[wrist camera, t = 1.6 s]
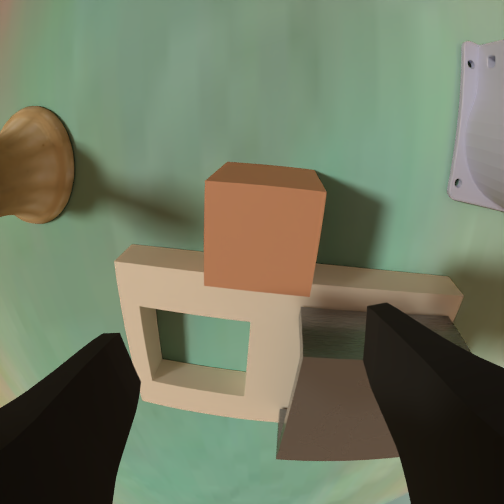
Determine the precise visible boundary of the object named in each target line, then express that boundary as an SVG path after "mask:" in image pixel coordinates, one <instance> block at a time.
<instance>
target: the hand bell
mask: <svg viewBox="0 0 504 504" xmlns="http://www.w3.org/2000/svg"><path fill="white" fill-rule="evenodd" d="M73 180H74V157H73V151H72V146H71V143H70V140H69V136H68V134H67V131H66V129H65V128H64V126H63V124H62V122H61V121H60V120H59V119H58V118H57V117H56V116H55V114H53V113H52V112H51V111H49V110H48V109H45V108H43V107H39V106H29V107H25V108H23V109H21V110H19V111H18V112H17V113H15V114H14V115H13V116H12V117H11V118H10V119H9V120H8V121H7V122H6V124H5V125H4V127H3V129H2V130H1V132H0V217H2V216H6V215H15V216H17V217H18V218H19V219H21V220H23V221H26V222H29V223H35V224H42V223H46V222H49V221H51V220H53V219H54V218H56V217H57V216H58V215H59V214H60V213H61V212H62V210H63V209H64V207H65V206H66V204H67V202H68V200H69V197H70V194H71V190H72V185H73Z"/></svg>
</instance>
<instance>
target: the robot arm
mask: <svg viewBox="0 0 504 504" xmlns="http://www.w3.org/2000/svg"><path fill="white" fill-rule="evenodd" d="M468 61H469V62H470V64H471V68H469V66H468ZM456 179H458V180H459V183H458V185H457V186H455V181H456ZM447 194H448V196H449V197H450V198H451V199H453V200H457V201H461V202H466V203H470V204H474V205H479V206H483V207H487V208H491V209H495V210H499V211H503V212H504V40H499V41H495V42H491V43H486V44H482V45H478V44H475V43H473V42H471V41H466V42H463V43H462V46H461V84H460V100H459V111H458V121H457V130H456V138H455V145H454V152H453V159H452V165H451V171H450V176H449V181H448V187H447ZM363 363H364V366H365V370H366V373H367V377H368V380H369V383H370V386H371V389H372V392H373V394H374V397H375V399H376V401H377V403H378V406H379V408H380V410H381V413H382V415H383V417H384V420H385V422H386V424H387V427H388V429H389V431H390V434H391V436H392V438H393V441H394V443H395V445H396V448H397V451H398V454H399V457H400V460H401V463H402V467H403V471H404V475H405V479H406V483H407V487H408V492H409V496H410V501H411V504H504V368H502V367H500V366H498V365H496V364H493V363H491V362H489V361H487V360H484V359H482V358H480V357H478V356H476V355H474V354H472V353H470V352H468V351H467V350H465V349H463V348H461V347H459V346H457V345H456V344H454V343H452V342H450V341H449V340H447V339H445V338H444V337H442V336H440V335H439V334H437V333H435V332H434V331H432V330H430V329H429V328H427V327H426V326H424V325H423V324H421V323H419V322H418V321H416V320H415V319H413V318H412V317H410V316H408V315H407V314H405V313H404V312H402V311H401V310H399V309H397V308H396V307H394V306H392V305H391V304H389V303H387V302H386V303H381V304H375V305H369V306H367V315H366V330H365V342H364V353H363ZM140 387H141V380H140V378H139V376H138V374H137V372H136V370H135V367H134V365H133V363H132V361H131V358H130V356H129V354H128V352H127V349H126V347H125V345H124V342H123V340H122V337H121V335H120V333H103V334H101V335H100V336H98V337H97V338H95V339H94V340H92V341H91V342H90V343H88V344H87V345H86V346H84V347H83V348H82V349H81V350H79V351H78V352H77V353H76V354H74V355H73V356H72V357H71V358H69V359H68V360H67V361H66V362H64V363H63V364H62V365H61V366H59V367H58V368H57V369H56V370H54V371H53V372H52V373H50V374H49V375H48V376H46V377H45V378H44V379H42V380H41V381H40V382H38V383H37V384H36V385H34V386H33V387H32V388H30V389H29V390H28V391H26V392H25V393H23V394H22V395H20V396H19V397H17V398H16V399H14V400H13V401H11V402H9V403H8V404H6V405H5V406H3V407H1V408H0V504H112V502H113V495H114V488H115V481H116V476H117V472H118V468H119V464H120V461H121V457H122V454H123V451H124V448H125V445H126V441H127V438H128V435H129V432H130V429H131V426H132V422H133V419H134V416H135V413H136V409H137V404H138V399H139V393H140Z"/></svg>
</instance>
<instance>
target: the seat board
mask: <svg viewBox="0 0 504 504" xmlns="http://www.w3.org/2000/svg"><path fill="white" fill-rule="evenodd" d="M114 263H115V270H116V277H117V284H118V290H119V296H120V302H121V308H122V314H123V319H124V324H125V329H126V334H127V339H128V344H129V349H130V353H131V357H132V362H133V365H134V367H135V370H136V372H137V374H138V376H139V378H140V380H141V387H140V393H141V397H142V401H146V402H151V403H155V404H159V405H164V406H169V407H173V408H178V409H183V410H189V411H194V412H200V413H206V414H212V415H218V416H225V417H233V418H240V419H249V420H258V421H269V422H278V416H279V410H280V409H288V405H289V401H290V397H291V393H292V389H293V384H294V380H295V376H296V372H297V367H298V363H299V359H300V338H299V313H300V307H310V308H321V309H334V310H347V311H361V312H367V306H369V305H375V304H381V303H386V302H387V303H389V304H391V305H392V306H394V307H396V308H397V309H399V310H401V311H402V312H404V313H405V314H412V315H436V316H449V318H450V319H451V321H452V322H453V321H454V319H455V316H456V314H457V312H458V309H459V307H460V305H461V302H462V300H463V297H464V295H463V294H462V293H461V291H460V290H459V289H458V288H457V287H456V285H455V284H454V283H453V282H452V280H451V279H450V278H449V277H448V276H439V275H428V274H418V273H408V272H397V271H387V270H377V269H367V268H357V267H347V266H337V265H327V264H317V263H316V265H315V270H314V276H313V282H312V287H311V293H310V297H304V296H294V295H284V294H274V293H264V292H254V291H245V290H236V289H227V288H219V287H210V286H204V252H200V251H191V250H181V249H172V248H163V247H153V246H144V245H135V244H132V245H131V246H130V247H128V248H127V249H126V250H125V251H124V252H123V253H122V254H121V255H120V256H119V257H118V258H117V259H116V260H115V261H114ZM156 309H160V310H166V311H173V312H179V313H186V314H193V315H200V316H208V317H215V318H223V319H231V320H239V321H248V322H251V325H250V337H249V348H248V360H247V372H243V371H235V370H228V369H220V368H213V367H207V366H200V365H194V364H188V363H182V362H176V361H171V360H166V359H162V353H161V346H160V339H159V331H158V323H157V315H156Z"/></svg>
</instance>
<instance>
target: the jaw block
mask: <svg viewBox="0 0 504 504" xmlns="http://www.w3.org/2000/svg"><path fill="white" fill-rule="evenodd" d="M326 194H327V192H326V190H325V188H324V186H323V185H322V183H321V181H320V179H319V177H318V176H317V174H316V172H315V170H310V169H302V168H293V167H283V166H273V165H262V164H250V163H237V162H227V163H226V164H224V165H223V166H222V167H221V168H220V169H218V170H217V171H216V172H215V173H214V174H213V175H211V176H210V177H209V178H208V179H207V180H206V181H205V210H204V286H210V287H219V288H227V289H236V290H245V291H254V292H264V293H274V294H284V295H294V296H304V297H310V293H311V287H312V282H313V276H314V270H315V265H316V259H317V253H318V247H319V241H320V234H321V228H322V222H323V215H324V208H325V201H326Z"/></svg>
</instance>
